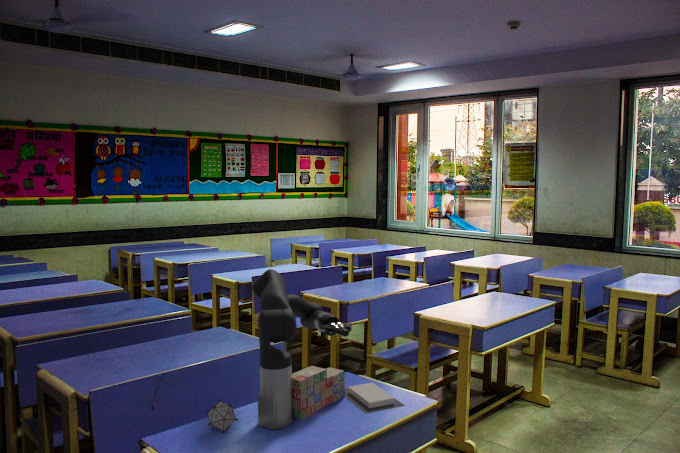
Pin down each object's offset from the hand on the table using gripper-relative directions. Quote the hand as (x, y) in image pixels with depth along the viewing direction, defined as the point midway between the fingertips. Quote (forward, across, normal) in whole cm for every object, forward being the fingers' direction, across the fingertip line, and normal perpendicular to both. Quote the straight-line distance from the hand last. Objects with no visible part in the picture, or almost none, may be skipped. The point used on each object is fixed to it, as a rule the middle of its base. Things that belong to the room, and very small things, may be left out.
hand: (346, 333), depth 191 cm
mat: (+17, 0, +18) cm, 25 cm away
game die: (+19, -48, +18) cm, 55 cm away
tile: (+10, 0, +16) cm, 19 cm away
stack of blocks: (+15, -18, +18) cm, 30 cm away
